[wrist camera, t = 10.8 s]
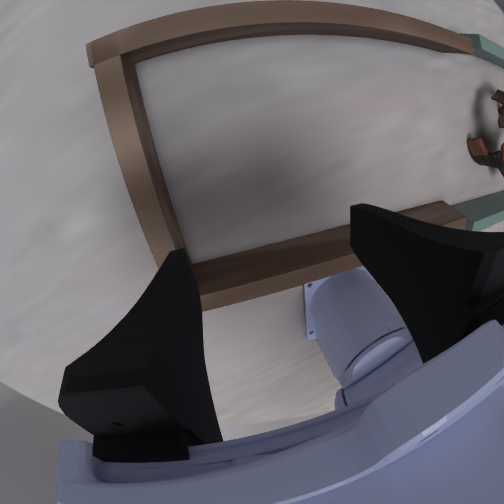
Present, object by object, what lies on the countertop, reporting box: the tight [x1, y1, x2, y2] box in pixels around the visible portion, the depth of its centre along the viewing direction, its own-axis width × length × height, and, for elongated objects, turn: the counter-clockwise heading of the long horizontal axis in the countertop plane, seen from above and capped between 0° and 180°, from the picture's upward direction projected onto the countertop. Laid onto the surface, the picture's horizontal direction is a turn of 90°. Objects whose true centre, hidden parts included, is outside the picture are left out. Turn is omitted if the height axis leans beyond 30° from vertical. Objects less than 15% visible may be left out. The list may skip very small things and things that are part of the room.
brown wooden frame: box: [86, 0, 474, 312], centre depth 17 cm, size 19×28×4 cm
